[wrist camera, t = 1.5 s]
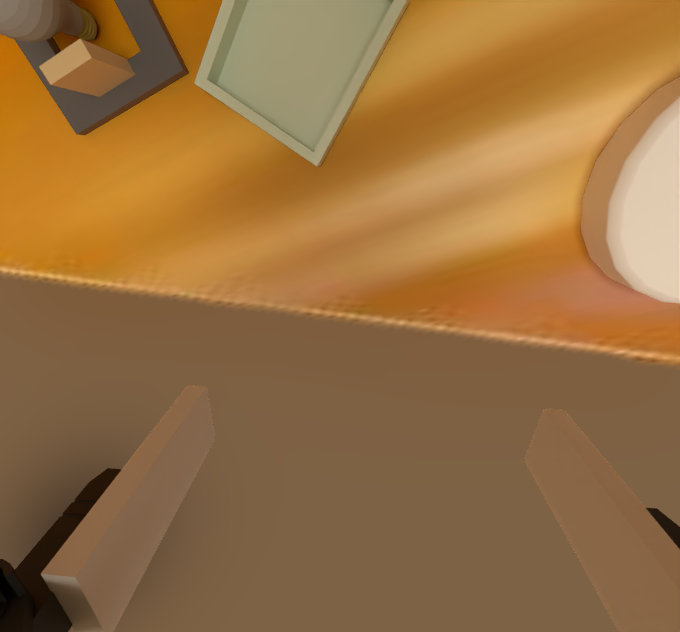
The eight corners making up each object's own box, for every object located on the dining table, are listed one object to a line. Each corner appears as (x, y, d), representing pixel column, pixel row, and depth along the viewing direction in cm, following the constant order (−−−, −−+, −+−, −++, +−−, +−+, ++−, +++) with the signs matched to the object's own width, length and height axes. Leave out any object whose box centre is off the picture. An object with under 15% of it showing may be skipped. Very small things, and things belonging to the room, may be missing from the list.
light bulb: (94, 82, 29) (-26, 46, 20) (43, 15, 27) (-113, -57, 18) (136, 40, 28) (26, -19, 19) (85, -34, 26) (-63, -138, 17)
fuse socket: (-16, -20, 27) (-112, -67, 21) (97, -111, 24) (19, -190, 19) (84, 135, 31) (26, 129, 26) (188, 72, 28) (148, 51, 23)
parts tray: (277, -105, 24) (268, -133, 21) (408, 4, 26) (412, -12, 23) (207, 89, 29) (194, 83, 27) (320, 166, 31) (317, 166, 29)
